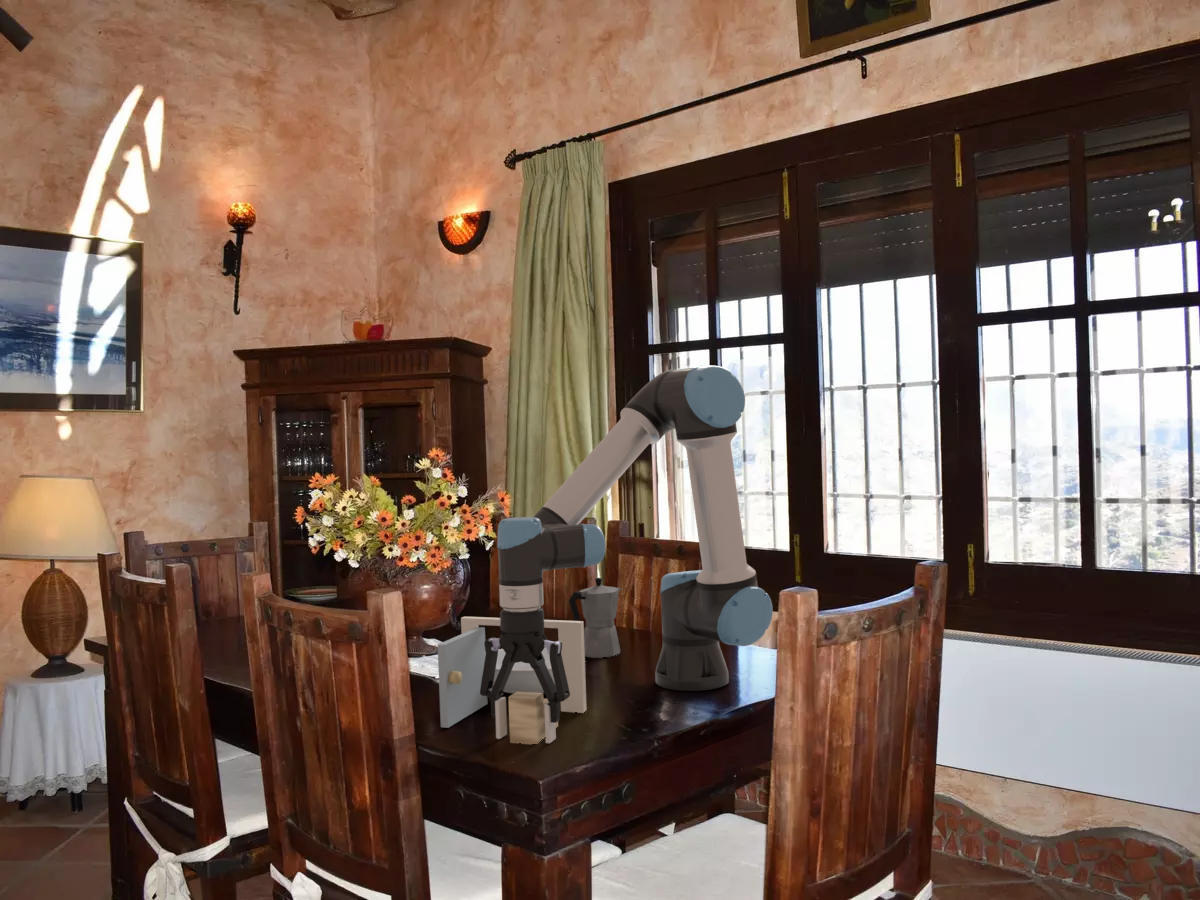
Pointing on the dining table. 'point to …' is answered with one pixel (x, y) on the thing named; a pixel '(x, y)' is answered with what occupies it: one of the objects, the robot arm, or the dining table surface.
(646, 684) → the dining table surface
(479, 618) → the wall frame
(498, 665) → the serving bowl
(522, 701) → the toy staircase
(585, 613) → the coffeepot
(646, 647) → the dining table surface
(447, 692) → the door
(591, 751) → the dining table surface
